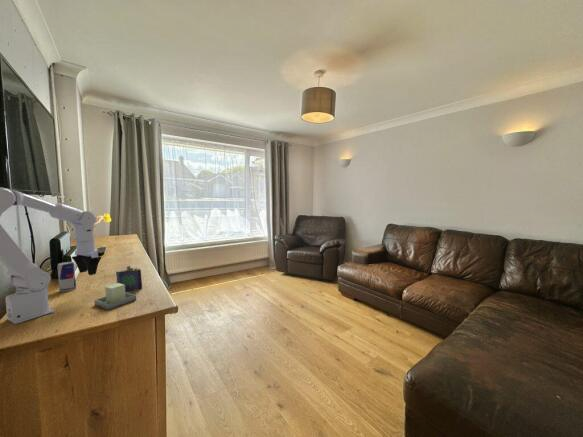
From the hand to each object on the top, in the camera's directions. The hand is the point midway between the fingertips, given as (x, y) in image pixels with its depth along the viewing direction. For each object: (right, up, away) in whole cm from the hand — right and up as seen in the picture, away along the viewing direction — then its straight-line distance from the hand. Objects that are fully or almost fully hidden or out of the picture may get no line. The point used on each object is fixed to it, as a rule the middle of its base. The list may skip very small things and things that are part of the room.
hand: (87, 273), depth 98 cm
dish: (+17, -10, -7) cm, 20 cm away
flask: (+13, -9, +6) cm, 17 cm away
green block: (+17, -9, -7) cm, 20 cm away
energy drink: (-15, -9, +8) cm, 20 cm away
